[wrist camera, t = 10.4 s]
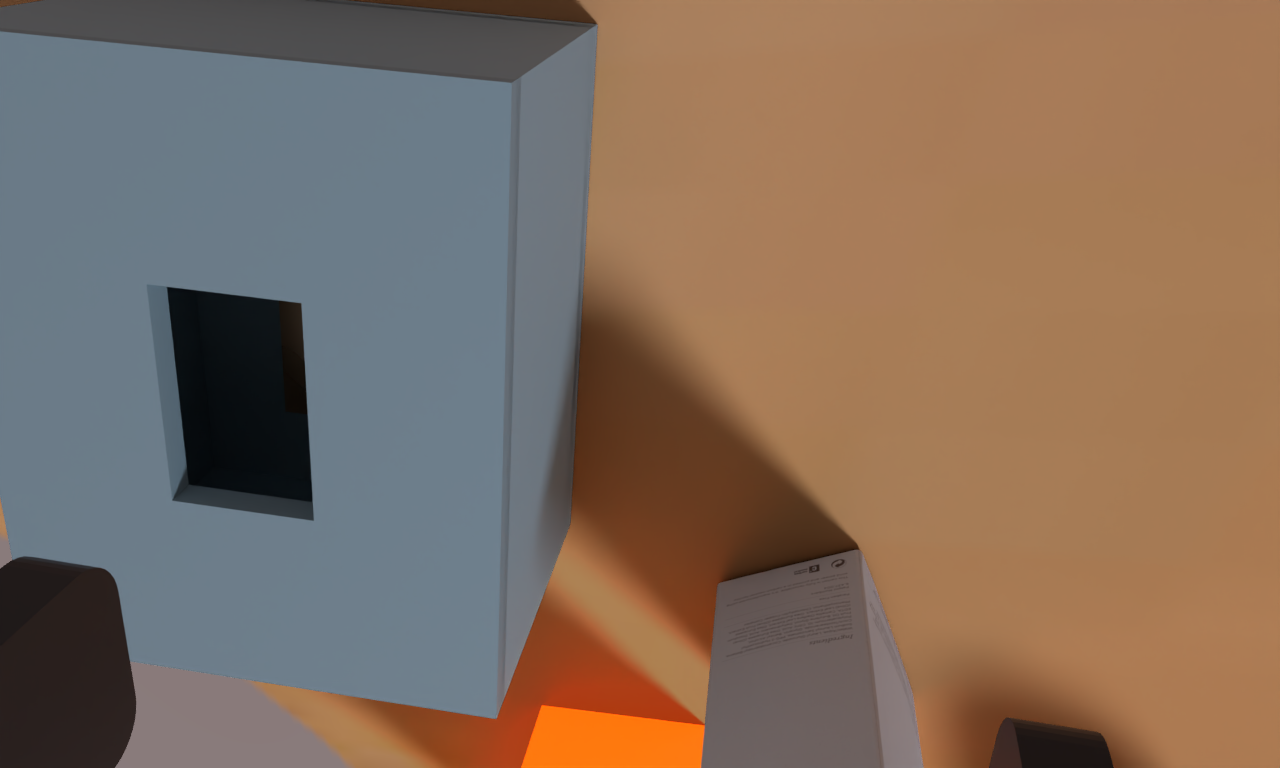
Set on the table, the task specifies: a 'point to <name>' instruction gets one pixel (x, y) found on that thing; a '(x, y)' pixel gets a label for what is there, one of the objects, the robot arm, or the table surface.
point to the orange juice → (611, 741)
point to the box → (332, 328)
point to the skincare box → (807, 673)
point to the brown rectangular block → (293, 357)
